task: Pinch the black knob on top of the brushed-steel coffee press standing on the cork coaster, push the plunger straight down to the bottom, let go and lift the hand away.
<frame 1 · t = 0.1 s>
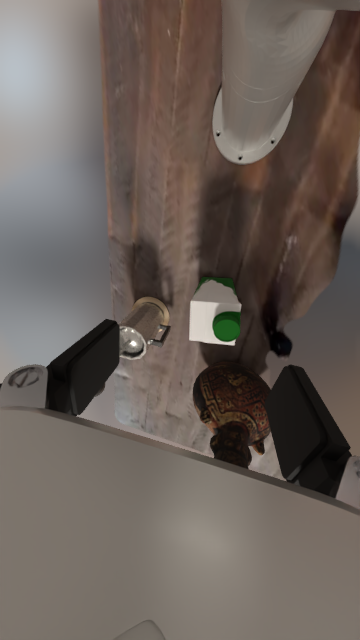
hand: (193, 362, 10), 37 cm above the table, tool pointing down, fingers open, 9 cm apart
plunger: (112, 361, 34), point 21 cm above the table, slide at 0.0 cm
milk carton: (215, 290, 46), on the table
cork coaster: (150, 315, 52), on the table
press: (150, 315, 52), resting on cork coaster
ceramic vessel: (231, 372, 56), on the table
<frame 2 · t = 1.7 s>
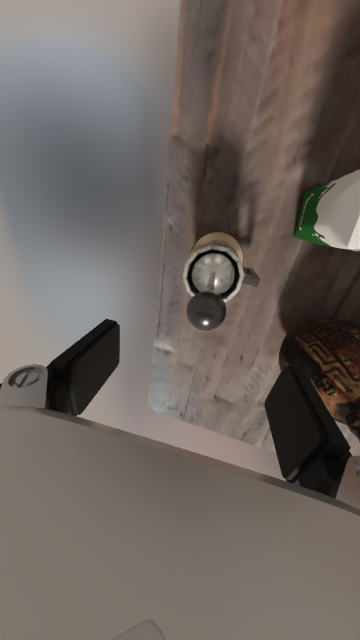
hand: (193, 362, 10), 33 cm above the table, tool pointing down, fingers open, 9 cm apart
plunger: (209, 290, 21), point 21 cm above the table, slide at 0.0 cm
milk carton: (319, 215, 33), on the table
cork coaster: (215, 260, 39), on the table
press: (215, 260, 39), resting on cork coaster
ceramic vessel: (315, 339, 43), on the table
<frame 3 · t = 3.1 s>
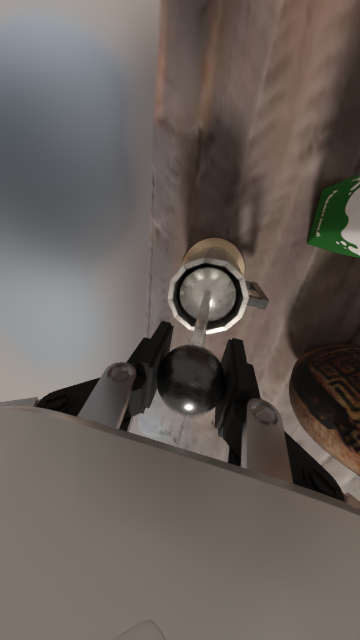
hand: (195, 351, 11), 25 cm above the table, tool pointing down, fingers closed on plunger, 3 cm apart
plunger: (201, 325, 14), point 21 cm above the table, slide at 0.0 cm, touching gripper
milk carton: (339, 217, 26), on the table
cork coaster: (211, 271, 33), on the table
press: (211, 271, 33), resting on cork coaster
ceramic vessel: (329, 363, 36), on the table
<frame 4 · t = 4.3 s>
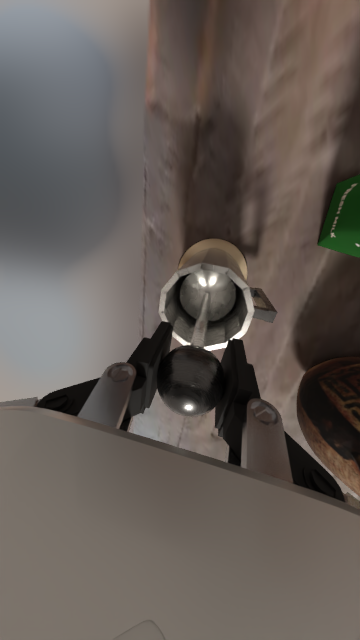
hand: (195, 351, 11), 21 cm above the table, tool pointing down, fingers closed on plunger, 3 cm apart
plunger: (201, 325, 14), point 18 cm above the table, slide at 3.5 cm, touching gripper
milk carton: (355, 216, 23), on the table
cork coaster: (211, 275, 30), on the table
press: (211, 276, 29), resting on cork coaster
ceramic vessel: (339, 375, 33), on the table
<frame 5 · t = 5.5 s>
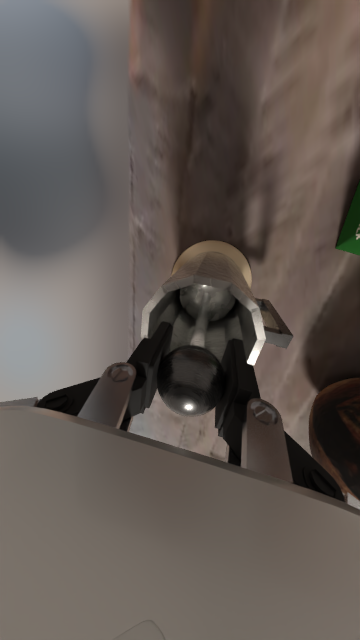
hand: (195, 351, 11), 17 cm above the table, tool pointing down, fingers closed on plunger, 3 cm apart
plunger: (201, 325, 14), point 13 cm above the table, slide at 8.0 cm, touching gripper
cork coaster: (209, 282, 26), on the table
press: (209, 283, 26), resting on cork coaster
ceramic vessel: (355, 395, 29), on the table
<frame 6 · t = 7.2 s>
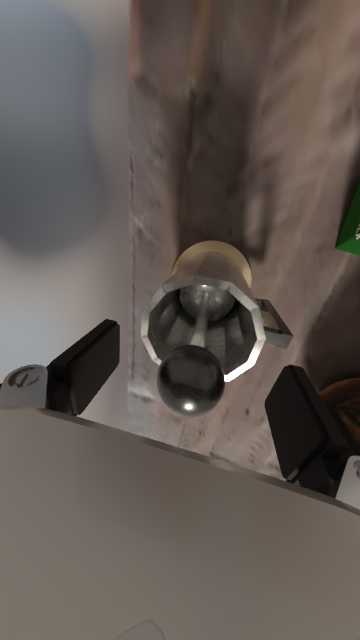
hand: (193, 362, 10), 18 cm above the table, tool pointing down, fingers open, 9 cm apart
plunger: (201, 324, 14), point 13 cm above the table, slide at 8.0 cm
cork coaster: (209, 282, 26), on the table
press: (209, 283, 25), resting on cork coaster
ceramic vessel: (355, 395, 29), on the table
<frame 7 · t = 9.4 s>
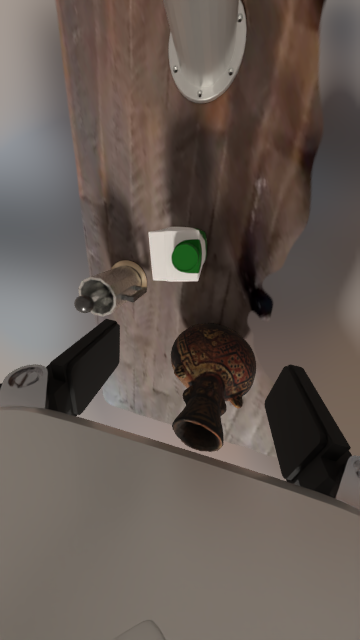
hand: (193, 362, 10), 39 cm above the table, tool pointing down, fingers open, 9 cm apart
plunger: (102, 294, 40), point 13 cm above the table, slide at 8.0 cm
milk carton: (190, 248, 45), on the table
cork coaster: (128, 280, 52), on the table
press: (127, 280, 51), resting on cork coaster
ceramic vessel: (214, 339, 55), on the table
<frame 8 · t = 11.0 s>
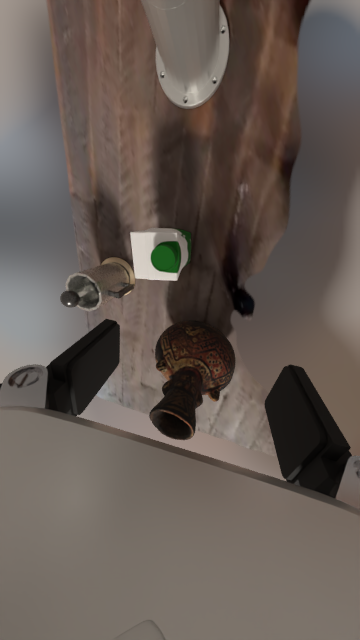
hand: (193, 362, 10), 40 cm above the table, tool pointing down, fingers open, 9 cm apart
plunger: (89, 290, 42), point 13 cm above the table, slide at 8.0 cm
milk carton: (176, 247, 47), on the table
cork coaster: (117, 277, 53), on the table
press: (116, 277, 53), resting on cork coaster
ceramic vessel: (199, 336, 57), on the table
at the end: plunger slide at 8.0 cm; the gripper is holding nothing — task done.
